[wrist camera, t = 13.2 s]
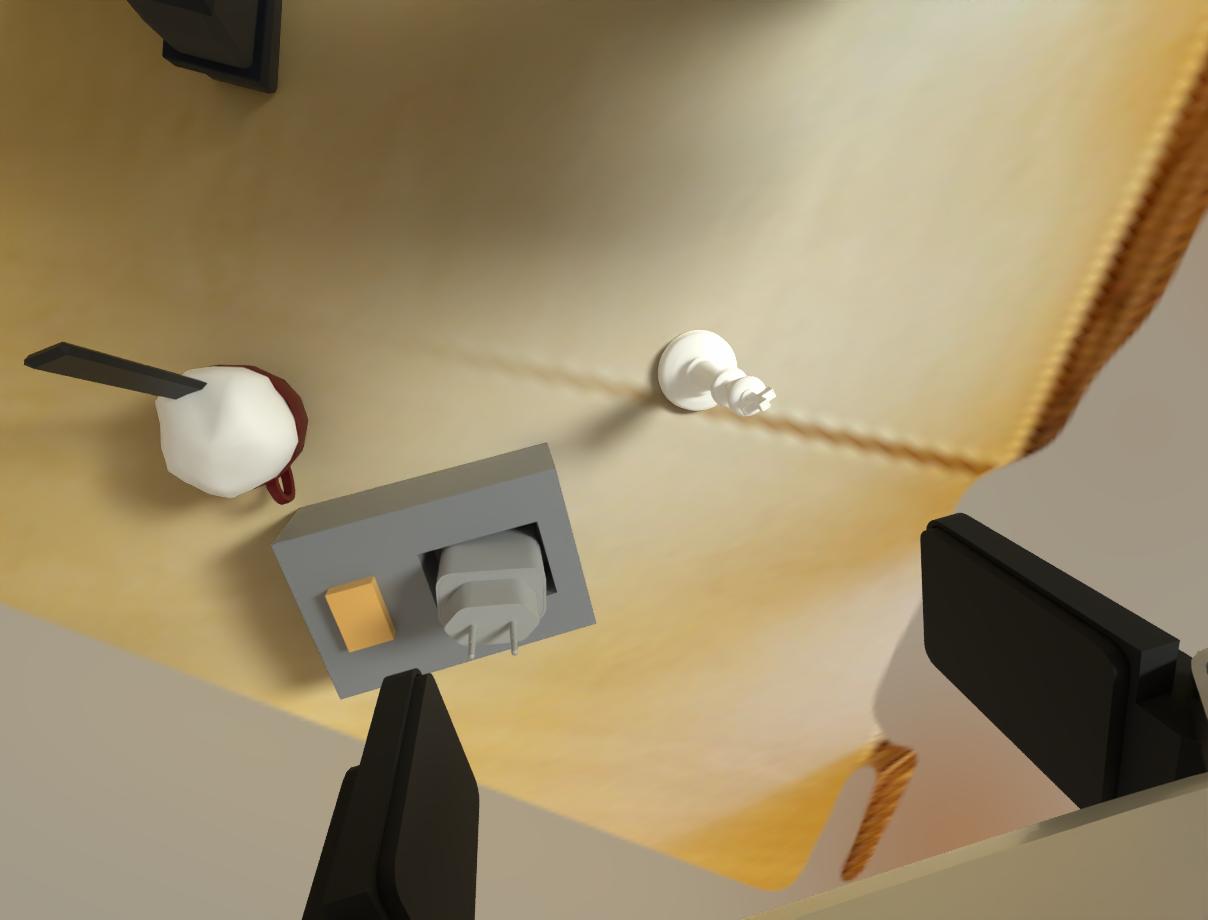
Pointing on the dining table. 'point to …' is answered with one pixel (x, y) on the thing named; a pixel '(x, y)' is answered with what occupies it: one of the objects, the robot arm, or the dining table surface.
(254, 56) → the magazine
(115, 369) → the cocoa
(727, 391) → the chess piece
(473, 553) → the power adapter
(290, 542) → the socket block
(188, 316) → the dining table surface
